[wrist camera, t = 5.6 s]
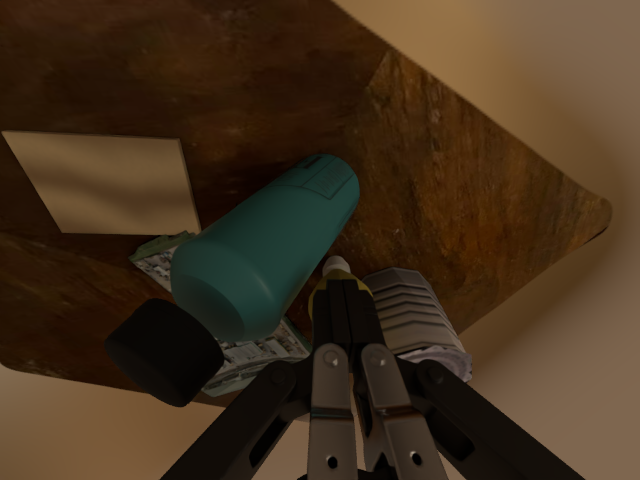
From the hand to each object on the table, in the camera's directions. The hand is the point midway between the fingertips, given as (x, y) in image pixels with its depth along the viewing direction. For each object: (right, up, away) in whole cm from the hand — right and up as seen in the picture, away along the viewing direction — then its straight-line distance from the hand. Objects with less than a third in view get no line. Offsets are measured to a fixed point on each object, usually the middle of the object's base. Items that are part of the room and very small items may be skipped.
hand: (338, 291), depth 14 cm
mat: (-21, +8, +12) cm, 25 cm away
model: (-17, -10, +24) cm, 31 cm away
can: (+9, -5, +23) cm, 25 cm away
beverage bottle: (0, +8, +11) cm, 14 cm away
